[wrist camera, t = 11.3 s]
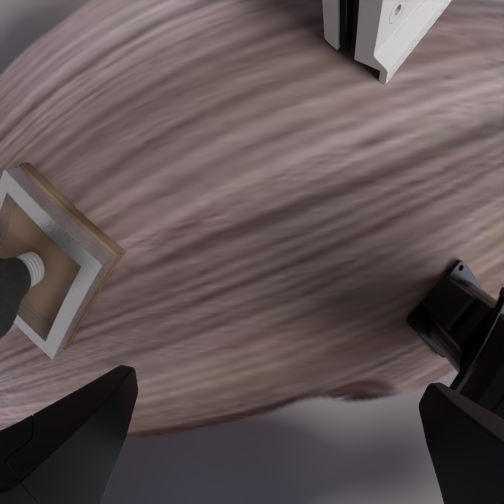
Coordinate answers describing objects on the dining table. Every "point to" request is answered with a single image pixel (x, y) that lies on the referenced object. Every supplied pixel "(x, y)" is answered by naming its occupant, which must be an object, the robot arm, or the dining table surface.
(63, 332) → the socket collar
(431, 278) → the dining table surface
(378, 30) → the white arched casing
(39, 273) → the light bulb
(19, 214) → the socket board
